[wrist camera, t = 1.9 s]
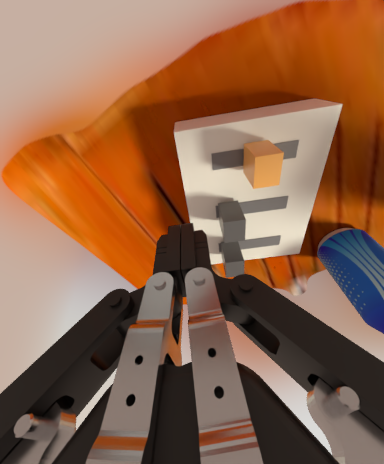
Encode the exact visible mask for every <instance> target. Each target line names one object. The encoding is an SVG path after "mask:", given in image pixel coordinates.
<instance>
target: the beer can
mask: <svg viewBox="0 0 384 464" xmlns="http://www.w3.org/2000/svg"><path fill="white" fill-rule="evenodd" d="M317 255H318V258H319V259H320V261H321V262H322V263H323V265H324V266H325V268H326V269H327V270H328V272H329V273H330V274H331V276H332V277H333V279H334V280H335V281H336V283H337V284H338V285H339V287H340V288H341V290H342V291H343V292H344V294H345V295H346V296H347V298H348V299H349V301H350V302H351V303H352V305H353V306H354V307H355V309H356V310H357V311H358V313H359V314H360V316H361V317H362V318H363V320H364V321H365V322H366V323H367V324H368V325H370V326H371V327H373V328H375V329H376V330H378V331H380V332H382V333H383V334H384V248H383V247H382V246H381V245H380V244H378V243H377V242H376V241H375V240H374V239H373V238H372V237H370V236H369V235H368V234H367V233H366V232H365V231H363V230H360V229H353V228H341V229H337V230H335V231H333V232H331V233H329V234H327V235H326V236H325V237H324V238H323V239H322V240H321V241H320V243H319V245H318V252H317Z"/></svg>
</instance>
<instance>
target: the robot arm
mask: <svg viewBox="0 0 384 464" xmlns="http://www.w3.org/2000/svg"><path fill="white" fill-rule="evenodd" d="M183 297H187V305H188V315H189V320H188V329H189V338H190V349H191V358H192V362H190V363H188V364H185V365H183V366H182V356H181V335H182V320H183ZM225 320H226V321H230V322H233V323H234V325H235V326H236V327H237V328H239V329H240V330H241V331H242V332H243V333H244V334H245V335H246V336H247V337H248V338H249V339H250V340H252V341H253V342H254V343H255V344H256V345H257V346H258V347H259V348H260V349H261V350H262V351H264V352H265V353H266V354H267V355H268V356H269V357H270V358H271V359H272V360H273V361H275V363H277V364H278V365H279V366H280V367H281V368H282V369H283V370H284V371H285V372H286V373H287V374H289V375H290V376H291V377H292V378H293V379H294V380H295V381H296V382H297V383H298V384H299V385H301V386H302V387H303V388H304V389H305V390H306V391H307V392H308V394H307V406H308V410H309V412H310V414H311V416H312V418H313V420H314V421H315V423H316V424H317V425H318V426H319V427H320V429H321V430H322V431H323V433H324V434H325V436H326V438H327V440H328V442H329V444H330V447H331V450H332V455H333V456H332V455H331V454H330V453H329V452H328V450H327V449H326V448H325V447H324V446H323V445H322V444H321V443H320V442H319V441H318V440H317V438H316V437H314V435H313V434H312V433H311V432H310V431H309V430H308V429H307V428H306V426H305V425H304V424H303V423H302V422H301V421H300V420H299V419H298V418H297V417H296V416H295V414H294V413H293V412H292V411H291V410H290V409H289V408H288V407H287V406H286V405H285V403H284V402H283V401H282V400H281V399H280V398H279V397H278V396H277V395H276V394H275V393H274V391H273V390H272V389H271V388H270V387H269V386H268V385H267V384H266V383H265V382H264V381H263V379H262V378H261V377H260V376H259V375H257V374H256V373H255V372H254V371H253V370H251V369H249V368H248V367H246V366H245V365H243V364H240V363H238V362H236V360H235V356H234V352H233V348H232V344H231V340H230V336H229V333H228V328H227V324H226V321H225ZM117 367H118V368H117ZM116 368H117V372H116V375H115V379H114V383H113V384H112V385H111V386H110V387H109V388H108V389H107V391H106V392H105V393H104V394H103V396H102V397H101V398H100V400H99V401H98V403H97V404H96V405H95V406H94V408H93V409H92V410H91V412H90V413H89V414H88V416H87V417H86V418H85V420H84V421H83V422H82V424H81V425H80V426H79V428H78V429H77V430H76V417H77V416H78V415H79V414H80V412H81V411H82V410H83V409H84V408H85V406H86V405H87V404H88V402H89V401H90V400H91V399H92V398H93V396H94V395H95V394H96V393H97V391H98V390H99V389H100V388H101V387H102V385H103V384H104V383H105V382H106V380H107V379H108V378H109V377H110V376H111V374H112V373H113V372H114V371H115V369H116ZM0 464H384V362H382V361H381V360H379V359H378V358H376V357H375V356H373V355H371V354H370V353H368V352H367V351H365V350H364V349H362V348H361V347H359V346H358V345H356V344H355V343H353V342H352V341H350V340H349V339H347V338H346V337H344V336H343V335H341V334H340V333H338V332H337V331H335V330H334V329H332V328H331V327H329V326H327V325H326V324H325V323H323V322H322V321H320V320H319V319H317V318H316V317H314V316H313V315H311V314H310V313H308V312H307V311H305V310H304V309H302V308H301V307H299V306H298V305H296V304H295V303H293V302H291V301H290V300H289V299H287V298H285V297H284V296H282V295H281V294H280V293H278V292H277V291H275V290H274V289H272V288H271V287H269V286H268V285H266V284H265V283H263V282H262V281H260V280H258V279H257V278H255V277H254V276H252V275H248V274H241V275H238V276H236V277H234V278H233V279H227V278H222V277H220V276H218V275H217V274H215V273H214V271H213V270H212V267H211V261H210V254H209V248H208V241H207V235H206V234H205V232H204V231H203V230H197V231H194V226H193V223H188V224H181V225H174V226H169V228H168V235H161V237H160V238H159V240H158V241H157V249H156V255H155V262H154V269H153V275H152V276H151V277H150V278H149V279H148V281H147V283H146V285H145V286H144V287H142V288H140V289H138V290H135V291H133V292H131V293H129V292H128V291H126V290H125V289H116V290H114V291H112V292H110V293H109V294H107V295H106V296H105V297H104V298H103V299H102V300H101V301H100V302H99V303H98V304H97V305H95V306H94V307H93V308H92V309H91V310H90V311H89V312H88V313H87V314H86V315H85V316H84V317H83V318H81V319H80V320H79V322H77V323H76V324H75V325H74V326H73V327H72V328H71V329H70V330H69V331H68V332H66V334H64V335H63V336H62V337H61V338H60V339H59V340H58V341H57V342H56V343H55V344H54V345H53V346H51V347H50V348H49V349H48V350H47V351H46V352H45V353H44V354H43V355H42V356H41V357H40V358H38V359H37V360H36V361H35V362H34V363H33V364H32V365H31V366H30V367H29V368H28V369H27V370H26V371H25V372H24V373H22V374H21V375H20V376H19V377H18V378H17V379H16V380H15V381H14V382H13V383H12V384H10V386H8V387H7V388H6V389H5V390H4V391H3V392H2V393H1V394H0Z"/></svg>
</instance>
